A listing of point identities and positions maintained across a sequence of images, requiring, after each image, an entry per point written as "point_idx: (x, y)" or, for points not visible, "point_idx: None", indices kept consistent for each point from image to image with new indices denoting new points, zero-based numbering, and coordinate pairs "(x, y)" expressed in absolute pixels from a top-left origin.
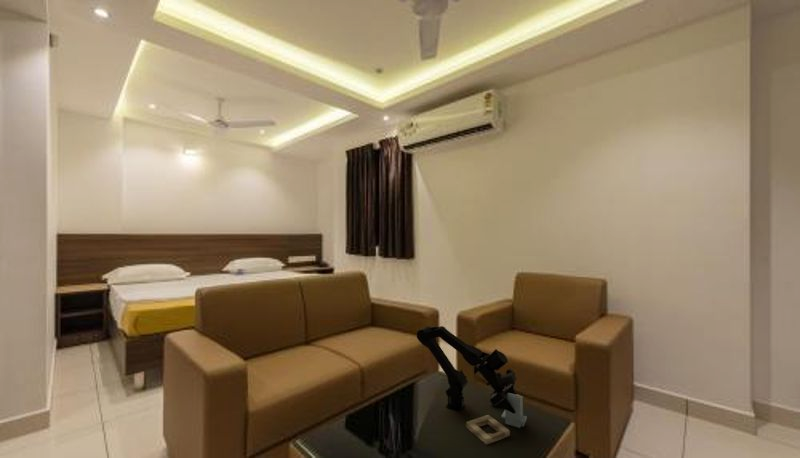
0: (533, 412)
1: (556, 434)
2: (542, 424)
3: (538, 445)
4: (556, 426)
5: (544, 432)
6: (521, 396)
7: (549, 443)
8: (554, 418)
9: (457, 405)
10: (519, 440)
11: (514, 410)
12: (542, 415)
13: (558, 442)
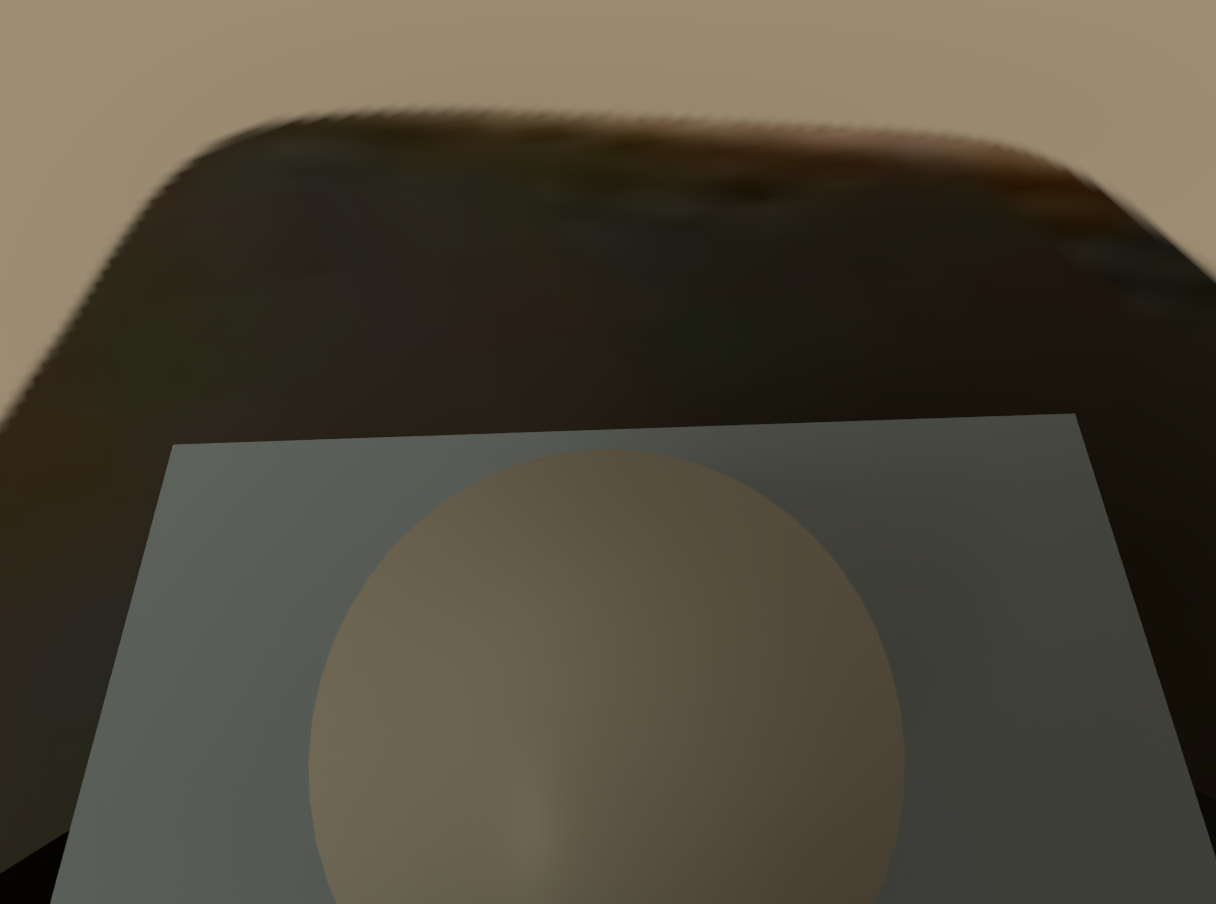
0: (47, 601)
1: (609, 176)
2: (426, 378)
3: (1074, 312)
4: (393, 209)
5: (653, 309)
6: (234, 511)
7: (900, 206)
8: (166, 266)
9: None
10: (1206, 612)
11: (1208, 803)
12: (121, 434)
13: (792, 129)
